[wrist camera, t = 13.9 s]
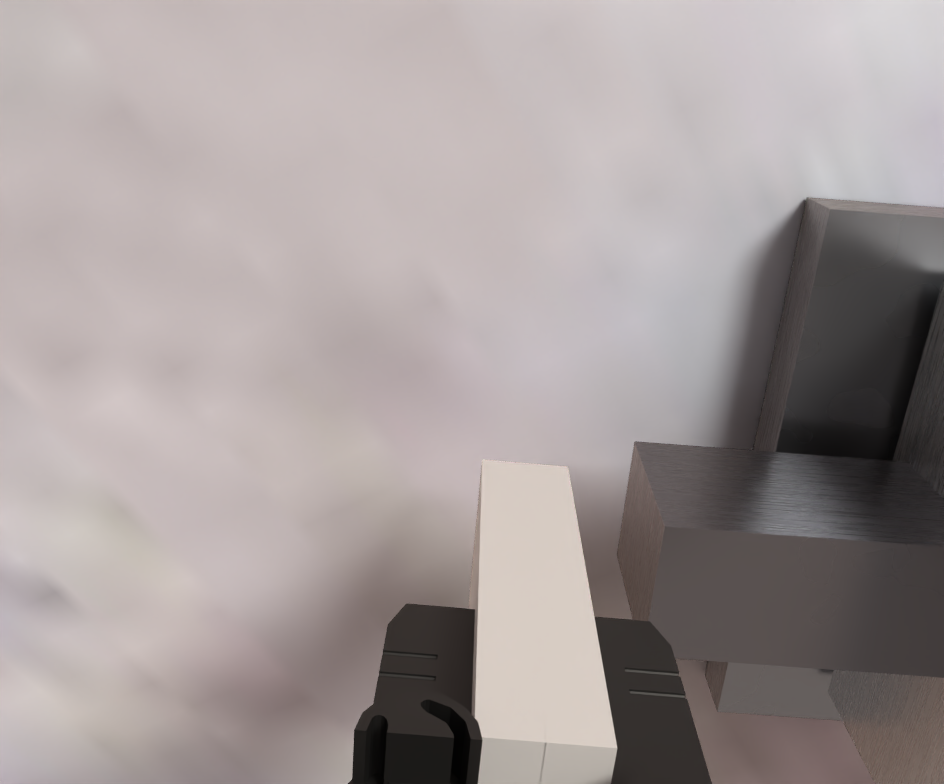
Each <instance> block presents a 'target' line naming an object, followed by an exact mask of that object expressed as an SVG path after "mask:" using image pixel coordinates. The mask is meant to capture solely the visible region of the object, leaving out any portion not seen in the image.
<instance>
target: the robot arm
mask: <svg viewBox="0 0 944 784" xmlns="http://www.w3.org/2000/svg"><path fill="white" fill-rule="evenodd" d="M348 784H712V782H711V779H710V776H709V773H708V769H707V766H706V762H705V759H704V756H703V752H702V749H701V745H700V742H699V739H698V735H697V732H696V728H695V725H694V722H693V718H692V715H691V711H690V708H689V705H688V701H687V699H685V691H684V688H683V684H682V681H681V678H680V677H679V671H678V667H677V664H676V661H675V657H674V654H673V650H672V647H671V645H670V644H669V643H668V641H667V640H666V639H665V638H664V637H663V636H662V635H661V633H660V632H659V631H658V630H657V629H656V628H655V627H654V625H653V624H652V623H651V622H650V621H639V620H627V619H615V618H603V617H594V612H593V606H592V601H591V595H590V589H589V583H588V578H587V572H586V566H585V561H584V555H583V549H582V543H581V538H580V532H579V526H578V521H577V515H576V509H575V503H574V498H573V492H572V486H571V481H570V475H569V469H568V467H567V466H555V465H543V464H531V463H519V462H507V461H495V460H483V459H482V467H481V477H480V488H479V498H478V509H477V519H476V530H475V540H474V551H473V561H472V571H471V582H470V593H469V609H465V608H453V607H441V606H429V605H417V604H406V605H405V606H404V607H403V608H402V609H401V610H400V611H399V613H398V614H397V615H396V616H395V617H394V618H393V619H392V621H391V622H390V623H389V624H388V627H387V633H386V638H385V644H384V649H383V655H382V660H381V665H380V671H379V677H378V682H377V687H376V693H375V698H374V704H373V705H372V706H370V707H369V708H368V709H367V710H365V711H364V712H363V713H362V715H361V717H360V719H359V721H358V723H357V726H356V728H355V730H354V753H353V777H352V780H351V781H350V782H349V783H348Z"/></svg>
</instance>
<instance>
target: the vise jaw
mask: <svg viewBox="0 0 944 784" xmlns="http://www.w3.org/2000/svg"><path fill="white" fill-rule="evenodd" d="M617 556H618V561H619V565H620V569H621V573H622V577H623V581H624V585H625V589H626V593H627V597H628V601H629V605H630V610H631V614H632V618H633V620H639V621H650V622H651V623H652V624H653V625H654V627H655V628H656V629H657V630H658V631H659V632H660V633H661V635H662V636H663V637H664V638H665V639H666V640H667V641H668V643H669V644H670V645H671V647H672V650H673V654H674V657H675V658H676V659H689V660H703V661H717V662H731V663H745V664H759V665H773V666H787V667H801V668H814V669H828V670H833V674H832V678H831V681H830V685H829V688H828V693H829V695H830V697H831V699H832V701H833V703H834V705H835V707H836V709H837V711H838V713H839V715H840V717H841V719H842V721H843V722H844V724H845V726H846V728H847V730H848V732H849V734H850V736H851V738H852V740H853V742H854V744H855V746H856V748H857V750H858V752H859V753H860V755H861V757H862V759H863V761H864V763H865V765H866V767H867V769H868V771H869V773H870V775H871V777H872V779H873V781H874V783H875V784H944V279H943V282H942V286H941V289H940V293H939V297H938V300H937V304H936V307H935V311H934V314H933V318H932V321H931V325H930V329H929V332H928V336H927V339H926V343H925V346H924V350H923V354H922V357H921V361H920V364H919V368H918V371H917V375H916V378H915V382H914V386H913V389H912V393H911V396H910V400H909V403H908V407H907V410H906V414H905V418H904V421H903V425H902V428H901V432H900V435H899V439H898V443H897V446H896V450H895V453H894V457H893V460H892V461H890V460H876V459H863V458H849V457H836V456H822V455H809V454H795V453H782V452H768V451H755V450H741V449H728V448H715V447H701V446H688V445H674V444H661V443H647V442H634V449H633V455H632V462H631V468H630V474H629V481H628V487H627V493H626V500H625V506H624V513H623V519H622V525H621V532H620V538H619V544H618V551H617Z"/></svg>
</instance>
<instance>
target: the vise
mask: <svg viewBox="0 0 944 784" xmlns="http://www.w3.org/2000/svg"><path fill="white" fill-rule="evenodd" d="M943 279H944V208H938V207H925V206H912V205H899V204H886V203H873V202H860V201H847V200H834V199H821V198H808V197H807V199H806V204H805V209H804V213H803V218H802V223H801V227H800V232H799V237H798V241H797V246H796V251H795V255H794V260H793V265H792V270H791V274H790V279H789V284H788V288H787V293H786V298H785V302H784V307H783V312H782V316H781V321H780V326H779V330H778V335H777V340H776V345H775V349H774V354H773V359H772V363H771V368H770V373H769V377H768V382H767V387H766V391H765V396H764V401H763V405H762V410H761V415H760V420H759V424H758V429H757V434H756V438H755V443H754V448H753V450H755V451H768V452H782V453H795V454H809V455H822V456H836V457H849V458H863V459H876V460H890V461H892V460H893V457H894V453H895V450H896V446H897V443H898V439H899V435H900V432H901V428H902V425H903V421H904V418H905V414H906V410H907V407H908V403H909V400H910V396H911V393H912V389H913V386H914V382H915V378H916V375H917V371H918V368H919V364H920V361H921V357H922V354H923V350H924V346H925V343H926V339H927V336H928V332H929V329H930V325H931V321H932V318H933V314H934V311H935V307H936V304H937V300H938V297H939V293H940V289H941V286H942V282H943ZM832 674H833V670H828V669H814V668H801V667H787V666H773V665H759V664H745V663H731V662H717V661H708V663H707V668H706V673H705V676H706V679H707V682H708V685H709V688H710V691H711V694H712V697H713V700H714V703H715V706H716V709H717V712H729V713H743V714H757V715H771V716H785V717H799V718H813V719H827V720H841V721H842V719H841V717H840V715H839V713H838V711H837V709H836V707H835V705H834V703H833V701H832V699H831V697H830V695H829V693H828V688H829V685H830V681H831V678H832Z"/></svg>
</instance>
